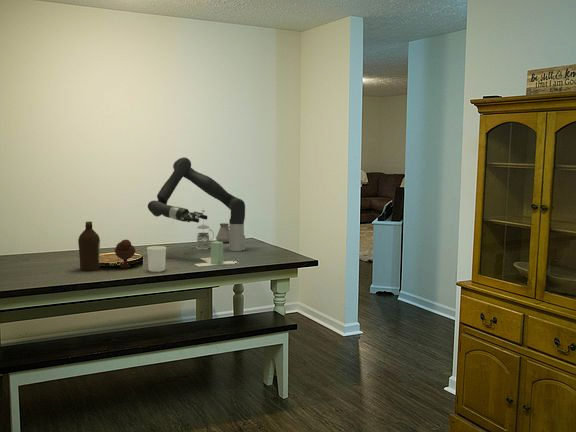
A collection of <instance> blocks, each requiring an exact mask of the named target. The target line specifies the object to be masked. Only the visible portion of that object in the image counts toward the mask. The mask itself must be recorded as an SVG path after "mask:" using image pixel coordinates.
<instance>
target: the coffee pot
mask: <svg viewBox="0 0 576 432" xmlns="http://www.w3.org/2000/svg"><path fill="white" fill-rule="evenodd" d="M216 234H217V235H216V236H215V241H217V242H229V223H227V222H226V223H224V222H223V223H219V229H218V233H216Z"/></svg>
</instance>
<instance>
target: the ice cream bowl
mask: <svg viewBox="0 0 576 432" xmlns="http://www.w3.org/2000/svg"><path fill="white" fill-rule="evenodd" d="M114 253H115V255H116V256H117V257H118V258H119V259H121V260H122V261H123V264H120V265H119V268H122V269H127V268H131V265H130V264H129V263H128V260H129V259H131V258H132V257H133V256H135V254H136V248H135V246H134V245H132V242H131V241H130V239H122V240H121V241H120V242H118V243H117V244H116V246H115V248H114Z"/></svg>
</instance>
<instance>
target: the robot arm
mask: <svg viewBox="0 0 576 432" xmlns="http://www.w3.org/2000/svg"><path fill="white" fill-rule="evenodd" d="M172 168H173V172H172V173H171V175H170V176H169V177H168V179H167V180H166V181H165V182H164V184H163V185H162V187H161V188H160V190H159V191H158V193H157V195H156V198H157V200H151V201H149V202H148V204H147V208H148V211H149V212H150V213H151V214H152V215H153V216H155V217H160V216H163V217H166V218H169V219H173V220H175V221H180V222H184V223H185V222H186V223H191V222H192V223H197V224H198V223H200V219H201V220H208V215H205V214H204V212H199V211H192V212H191V211H190V210H189V209H188V208H185V207H180V206H173V205H169V204H168V201H169V199H170V198H171V197H172V195H173V193H174V192H175V190H176V189H177V186H178V185H179V183H180V182H181V180H182V179H183V178H185V179H186V180H188V181H190V182H191V183H192V184H193V185H195V186H196V187H198V188H199V189H201V190H202V191H203V192H204V193H206V194H208V195H209V196H211V197H212V198H214V199H216V200H218V201H219V202H221V203H222V204H223V205H225V207H227V208H228V210H230V218H229V223H228V224H229V225H228V227H229V243H228V245H229V246H228V250H229V251H230V250H231V251H232V252H243V251H245V250H246V235H245V219H246V204H245V201H244V200H243V199H241V198H239V197H236V196H234V195H232V194H231V193H229V192H228V191H227V190H226V189H225V188H224V187H223V186H222V185H221V184H220V183H218V182H217V181H216V180H215V179H213V178H212V177H210V176H208V175H206V174H203V173H200V172H198V171H196V170H195V169H194V168H192V162H191V160H190V159H189V158H187V157H180V158H178V159H177V160H176V161H174V162H173V166H172ZM242 250H243V251H242ZM231 251H230V252H231Z"/></svg>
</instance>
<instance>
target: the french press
mask: <svg viewBox="0 0 576 432" xmlns="http://www.w3.org/2000/svg"><path fill="white" fill-rule="evenodd" d="M204 212H206V210H205V209H202V210H201V213H204ZM197 229H198V230H199V229H200V230H205V229H208V232H198V233H197V236H196V241H197V242H196V247H195V249H196V248H197V249H196V250H201V249H204V250H209V249H208V248H211V246H210V242H211V241H213V239H214V231H213V230H212V229H211V228H210V226H209V225H206V224H200V225H198V226H197ZM210 231H211V232H212V238H211V239H210V235H209V234H210V233H209V232H210Z"/></svg>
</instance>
